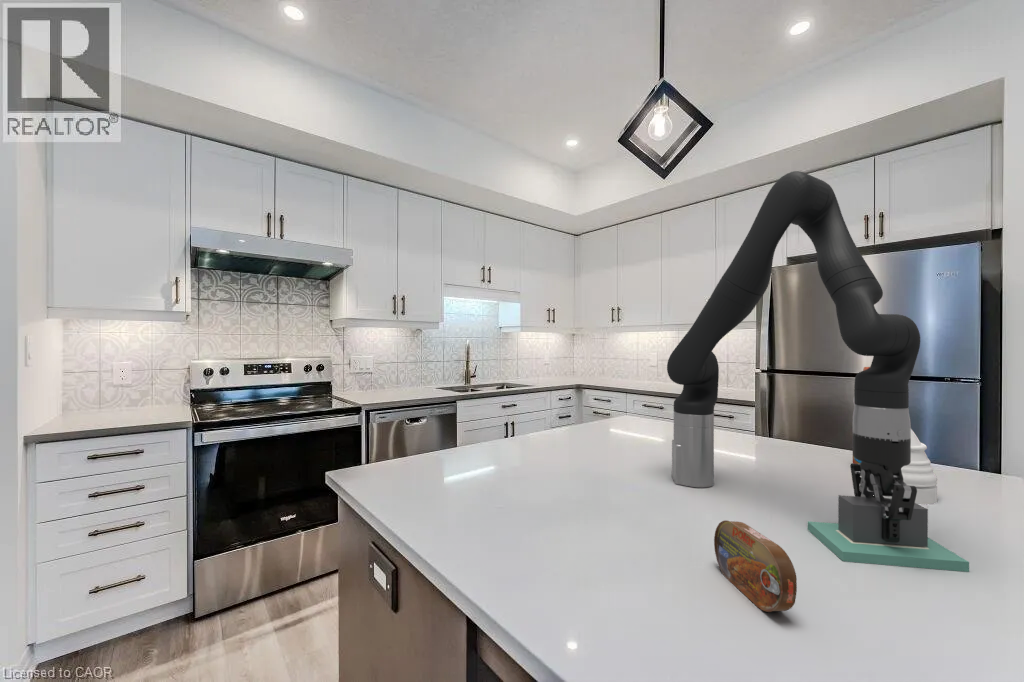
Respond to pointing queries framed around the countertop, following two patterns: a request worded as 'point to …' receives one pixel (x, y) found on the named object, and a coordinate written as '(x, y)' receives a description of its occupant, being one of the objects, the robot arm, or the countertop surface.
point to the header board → (887, 551)
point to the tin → (755, 566)
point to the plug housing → (879, 522)
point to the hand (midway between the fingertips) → (880, 534)
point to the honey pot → (920, 473)
